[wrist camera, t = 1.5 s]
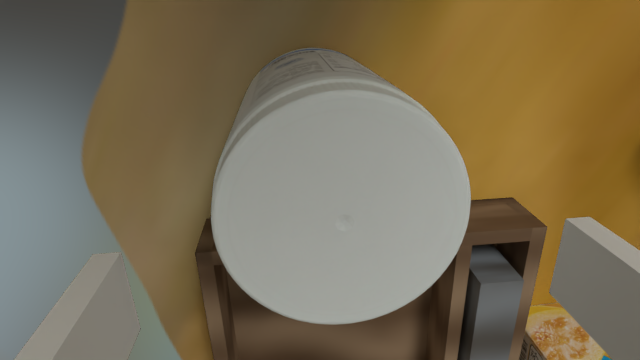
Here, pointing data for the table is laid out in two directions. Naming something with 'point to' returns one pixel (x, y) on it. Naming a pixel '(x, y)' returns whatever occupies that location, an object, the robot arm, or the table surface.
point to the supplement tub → (336, 192)
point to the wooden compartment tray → (408, 321)
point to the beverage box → (557, 337)
